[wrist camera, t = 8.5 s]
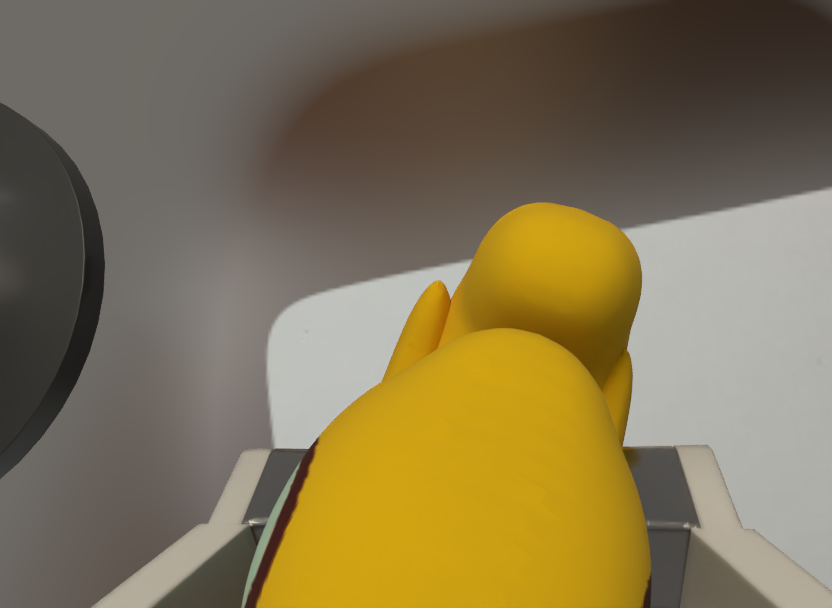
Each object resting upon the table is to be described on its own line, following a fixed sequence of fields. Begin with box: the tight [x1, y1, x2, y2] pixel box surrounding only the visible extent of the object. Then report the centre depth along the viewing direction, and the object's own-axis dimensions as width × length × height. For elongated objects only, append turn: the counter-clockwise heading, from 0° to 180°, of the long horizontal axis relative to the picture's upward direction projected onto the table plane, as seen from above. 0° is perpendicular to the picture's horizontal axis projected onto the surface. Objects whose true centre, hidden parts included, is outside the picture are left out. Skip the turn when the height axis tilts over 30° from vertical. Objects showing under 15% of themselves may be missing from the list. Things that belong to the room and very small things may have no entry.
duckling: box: [241, 203, 651, 608], centre depth 11 cm, size 11×5×10 cm, turn 158°
